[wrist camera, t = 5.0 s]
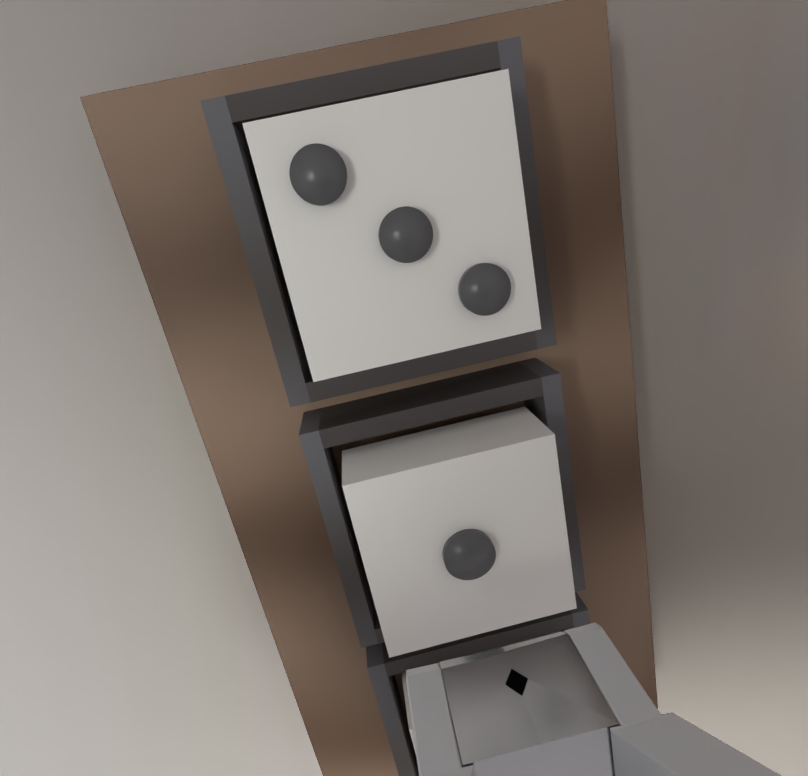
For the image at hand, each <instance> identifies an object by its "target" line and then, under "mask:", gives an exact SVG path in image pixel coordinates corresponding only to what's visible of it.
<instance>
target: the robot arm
mask: <svg viewBox="0 0 808 776" xmlns="http://www.w3.org/2000/svg"><path fill="white" fill-rule="evenodd" d="M439 663H440V667H439ZM439 663H436V664H431V665H427V666H422V667H418V668H413V669H408V670H406V684H407V691H408V698H409V706H410V713H411V720H412V728H413V735H414V742H415V749H416V757H417V764H418V771H419V776H781V775H779V774H778V773H776V772H774V771H772V770H771V769H769V768H767V767H766V766H764V765H762V764H760V763H759V762H757V761H755V760H753V759H752V758H750V757H748V756H747V755H745V754H743V753H741V752H740V751H738V750H736V749H734V748H733V747H731V746H729V745H728V744H726V743H724V742H722V741H721V740H719V739H717V738H715V737H714V736H712V735H710V734H709V733H707V732H705V731H703V730H702V729H700V728H698V727H696V726H695V725H693V724H691V723H690V722H688V721H686V720H684V719H683V718H681V717H679V716H677V715H676V714H674V713H667V714H662V715H661V714H660V712H659V711H658V709H657V708H656V706H655V705H654V703H653V702H652V700H651V699H650V697H649V696H648V694H647V693H646V691H645V690H644V688H643V687H642V686H641V684H640V683H639V681H638V680H637V678H636V677H635V675H634V674H633V672H632V671H631V669H630V668H629V666H628V665H627V663H626V662H625V660H624V659H623V658H622V656H621V655H620V653H619V652H618V650H617V649H616V647H615V646H614V644H613V643H612V641H611V640H610V638H609V637H608V635H607V634H606V632H605V631H604V629H603V628H602V627H601V626H600V625H599V624H597V623H596V622H595V623H591V624H587V625H584V626H580V627H576V628H572V629H569V630H565V631H564V632H562V631H561V632H557V633H554V634H550V635H546V636H542V637H538V638H535V639H531V640H527V641H523V642H520V643H516V644H512V645H508V646H504V647H501V648H499V649H494V650H490V651H485V652H481V653H477V654H472V655H468V656H463V657H459V658H454V659H450V660H445V661H441V662H439ZM440 668H441V671H440ZM441 673H442V675H441ZM442 678H443V680H442ZM443 682H444V684H443ZM444 687H445V688H444ZM445 691H446V693H445ZM446 696H447V697H446ZM447 700H448V701H447ZM449 709H450V710H449Z"/></svg>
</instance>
